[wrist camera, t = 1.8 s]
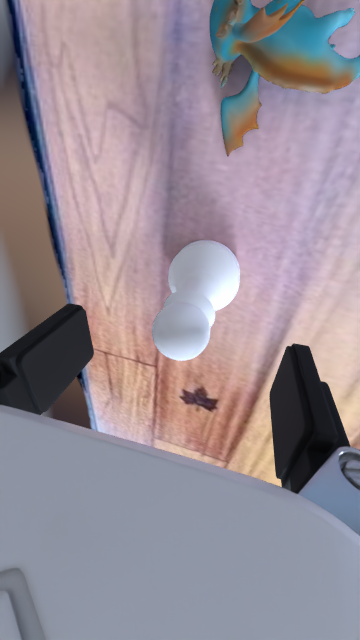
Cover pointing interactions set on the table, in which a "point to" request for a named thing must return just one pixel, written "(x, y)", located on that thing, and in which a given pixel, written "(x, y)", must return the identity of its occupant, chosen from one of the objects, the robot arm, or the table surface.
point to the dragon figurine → (275, 55)
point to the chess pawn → (195, 298)
